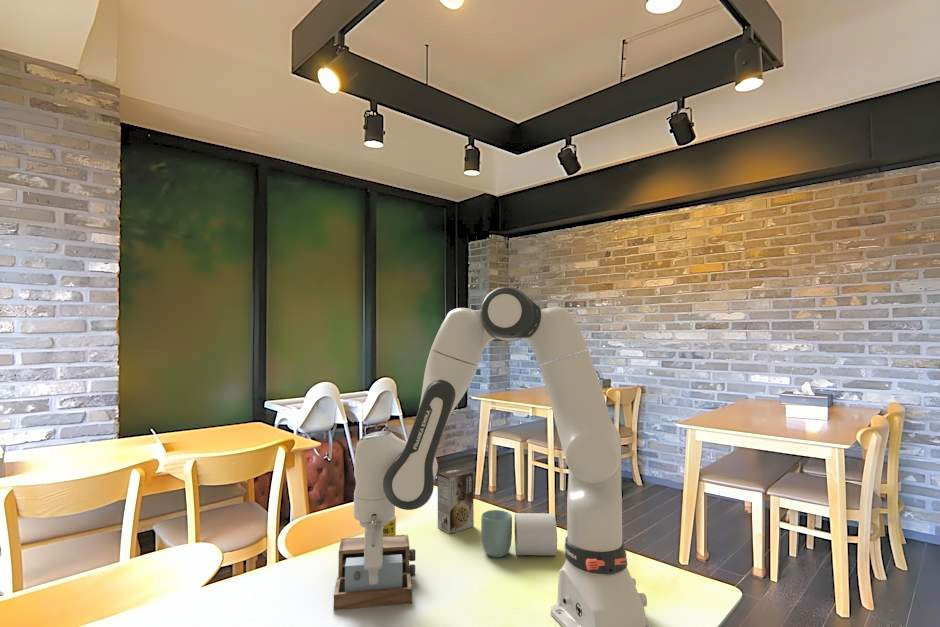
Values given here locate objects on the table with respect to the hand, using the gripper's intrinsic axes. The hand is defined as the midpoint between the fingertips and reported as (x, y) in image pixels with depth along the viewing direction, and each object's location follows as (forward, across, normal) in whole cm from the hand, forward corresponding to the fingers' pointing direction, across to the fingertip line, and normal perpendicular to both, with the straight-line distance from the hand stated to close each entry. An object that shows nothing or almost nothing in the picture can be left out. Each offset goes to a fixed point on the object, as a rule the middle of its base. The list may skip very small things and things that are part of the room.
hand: (373, 572), depth 110 cm
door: (+5, 0, 0) cm, 5 cm away
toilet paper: (+6, +16, -41) cm, 44 cm away
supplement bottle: (+6, +31, -3) cm, 32 cm away
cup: (+6, +17, -31) cm, 36 cm away
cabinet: (+5, +5, -1) cm, 7 cm away
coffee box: (+6, +37, -23) cm, 44 cm away
